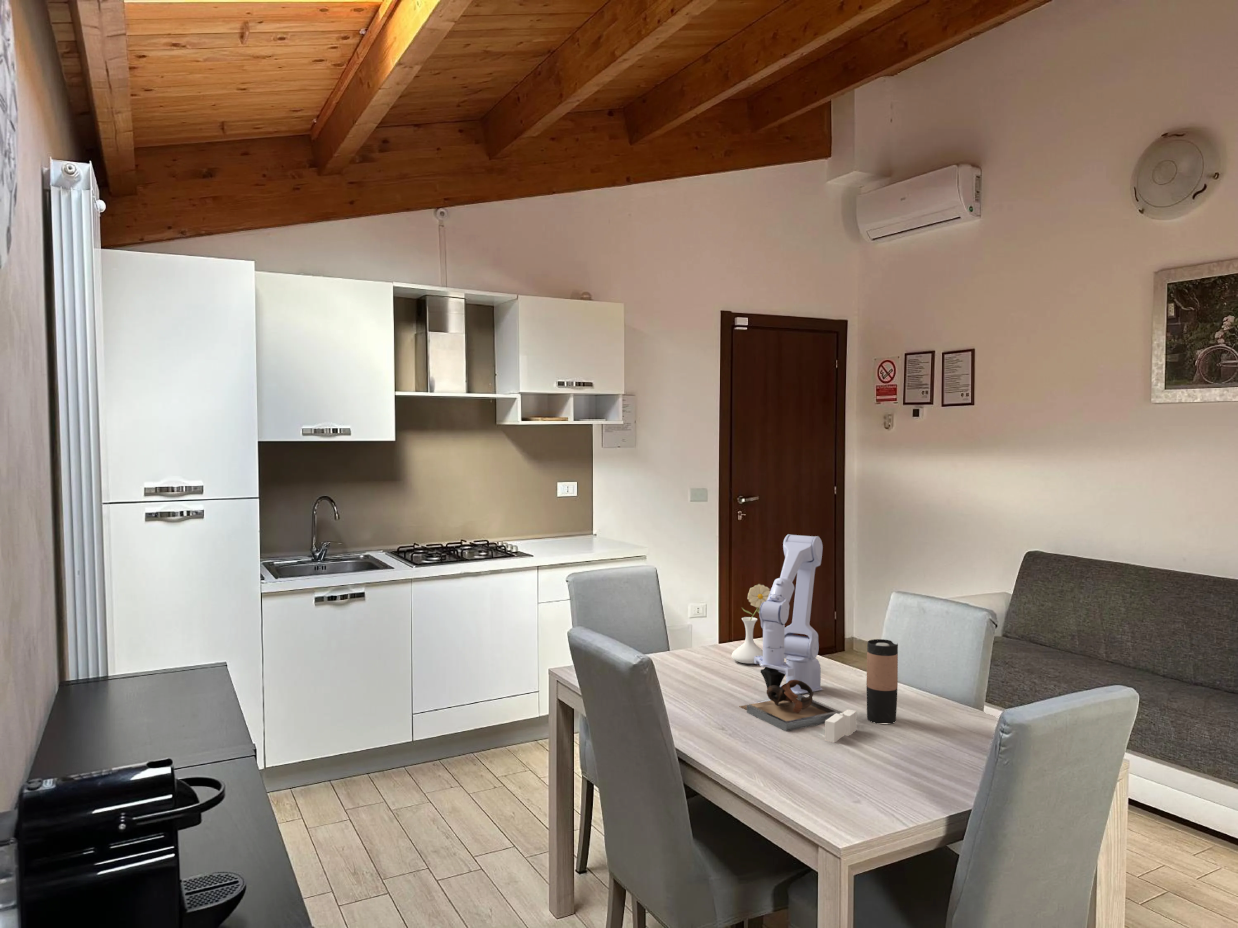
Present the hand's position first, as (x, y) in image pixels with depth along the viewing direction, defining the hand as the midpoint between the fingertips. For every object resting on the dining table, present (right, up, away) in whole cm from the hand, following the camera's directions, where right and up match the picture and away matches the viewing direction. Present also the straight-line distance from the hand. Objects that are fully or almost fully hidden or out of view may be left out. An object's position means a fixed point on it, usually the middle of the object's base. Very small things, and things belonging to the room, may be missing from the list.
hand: (773, 695), depth 237 cm
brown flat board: (+3, -3, -5) cm, 6 cm away
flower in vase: (+1, -1, +45) cm, 44 cm away
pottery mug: (+4, -3, -3) cm, 5 cm away
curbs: (+4, -3, -7) cm, 9 cm away
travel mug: (+26, -4, -10) cm, 28 cm away
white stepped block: (+13, -5, -21) cm, 26 cm away
